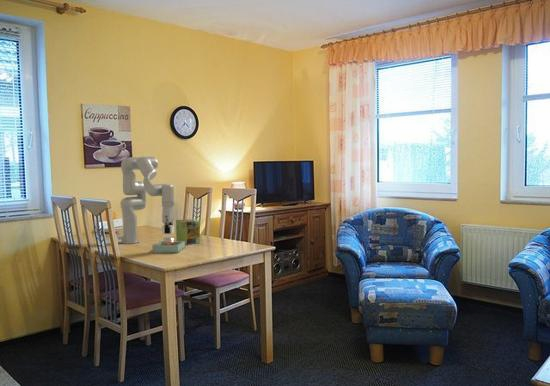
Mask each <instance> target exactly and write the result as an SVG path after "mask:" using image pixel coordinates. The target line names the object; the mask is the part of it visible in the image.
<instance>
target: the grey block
mask: <svg viewBox="0 0 550 386" xmlns="http://www.w3.org/2000/svg"><path fill="white" fill-rule="evenodd" d="M161 227H162V229H161V230H162V231H161V232H162V235H166V234H165V227H164V225H162V226H161ZM169 227H170V233H169V234H168V235H174V233H175V224H173V225H169Z"/></svg>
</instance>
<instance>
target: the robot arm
mask: <svg viewBox="0 0 550 386" xmlns="http://www.w3.org/2000/svg"><path fill="white" fill-rule="evenodd" d="M158 161H159V160H158V159H157V158H156V157H154V156H140V157H139V156H138V157H134V156H133V157H130V156H129V157H125V158H123V160H122V161H121V162H120V163H121V164H120V167H121V173H122V193H123V194H124V195H125V196H129V197H123V198H122V199H121V200H120V209H121V215H122V218H121V219H122V236H117V240H121V241H120V243H121V244H122V245H123V244H125V245H129V244H132V245H133V244H138V243H140V241H141V240H140V239H138V216H137V215H136V213H135V211H142V210H144V209H145V208H146V205H147V195H149V196H150V197H161V208H162V210H161V211H162V212H161V215H162V216H161V222H162V223H163V226H164V227H165V234H164V235H170V234H169V233H170V227H169V225H174V223H173V222H174V220H175V214H174V207H175V190H174V189H175V187H174V185H173V184H166V183H157V184H155V183H153V184H152V182H151V180H153V179H154V178H156V176H157V172H158V171H157V170H156V169H157V168H159V167H158V166H159V162H158ZM134 170H136V171H137V170H139V171H140V173H141V175H142V176H143V177H144V178H143V180H142V181H141V180H140V181H139V180H137V179H136V177H137V175H136V173H135V172H134Z"/></svg>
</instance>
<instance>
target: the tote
mask: <svg viewBox="0 0 550 386" xmlns="http://www.w3.org/2000/svg"><path fill="white" fill-rule="evenodd" d="M185 249H186V245H185V241H176V240H174V246H164V240H160V241H159V242H157V243H155V244H154V245H152V254H179V253H180V252H182V251H183V250H185ZM181 250H182V251H181Z"/></svg>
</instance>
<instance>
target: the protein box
mask: <svg viewBox="0 0 550 386" xmlns="http://www.w3.org/2000/svg"><path fill="white" fill-rule="evenodd" d="M200 225H201V223H200V220H196V219H190V218H187V219H186V218H185V219H176V220H175V234H176V235H175V241H185V246H191V245H196V244H200V243H201V226H200Z"/></svg>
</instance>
